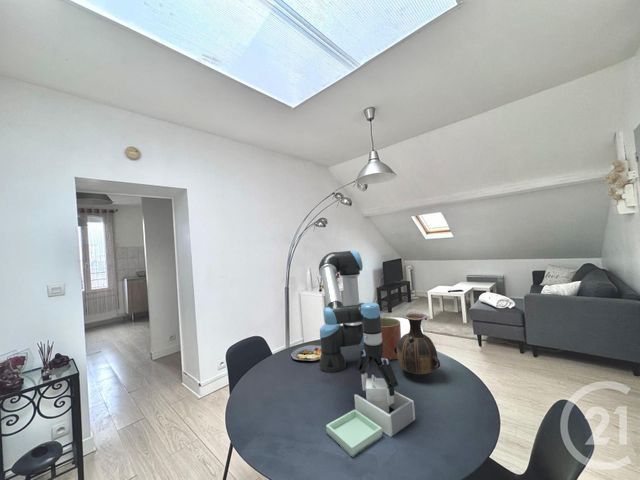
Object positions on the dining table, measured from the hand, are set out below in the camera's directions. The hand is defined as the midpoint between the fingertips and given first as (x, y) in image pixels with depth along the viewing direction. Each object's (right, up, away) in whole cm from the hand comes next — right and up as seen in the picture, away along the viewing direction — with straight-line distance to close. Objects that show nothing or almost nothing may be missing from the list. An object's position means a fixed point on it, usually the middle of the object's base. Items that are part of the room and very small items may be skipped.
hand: (377, 396), depth 104 cm
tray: (-11, -7, -11) cm, 17 cm away
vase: (+27, -6, +27) cm, 38 cm away
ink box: (0, -7, 0) cm, 7 cm away
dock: (+2, -6, -2) cm, 7 cm away
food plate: (-28, -11, +61) cm, 69 cm away
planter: (+17, -7, +53) cm, 56 cm away
